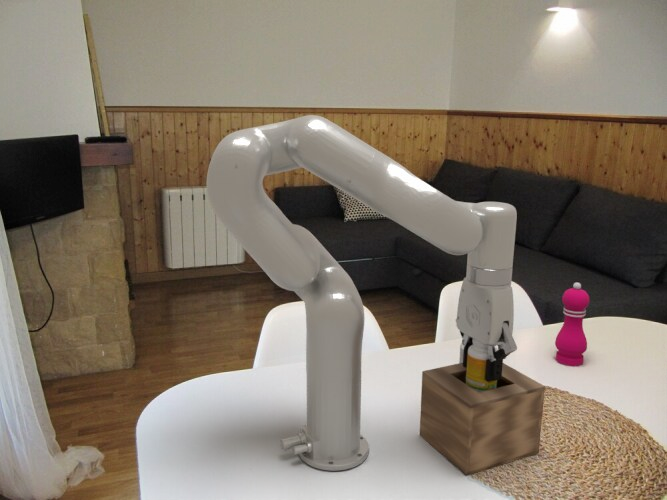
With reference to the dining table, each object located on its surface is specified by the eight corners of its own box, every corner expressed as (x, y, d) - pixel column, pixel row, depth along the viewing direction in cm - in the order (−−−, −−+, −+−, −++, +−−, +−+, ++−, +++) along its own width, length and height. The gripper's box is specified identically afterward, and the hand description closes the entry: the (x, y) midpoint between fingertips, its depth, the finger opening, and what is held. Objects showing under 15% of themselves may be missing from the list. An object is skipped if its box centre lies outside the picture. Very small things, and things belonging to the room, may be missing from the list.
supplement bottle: (490, 397, 102) (495, 344, 100) (461, 389, 105) (464, 338, 102) (500, 385, 106) (504, 334, 104) (471, 377, 109) (474, 328, 107)
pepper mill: (590, 367, 141) (599, 287, 136) (559, 367, 141) (567, 286, 136) (578, 355, 148) (586, 278, 143) (549, 354, 148) (556, 278, 143)
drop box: (466, 475, 99) (470, 405, 96) (419, 435, 111) (422, 371, 108) (538, 453, 105) (545, 386, 102) (487, 416, 118) (491, 356, 115)
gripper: (441, 265, 107) (436, 358, 111) (506, 291, 92) (497, 398, 96) (474, 261, 110) (468, 351, 114) (542, 285, 95) (532, 389, 99)
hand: (481, 371), depth 105 cm, fingers closed on supplement bottle, 5 cm apart
